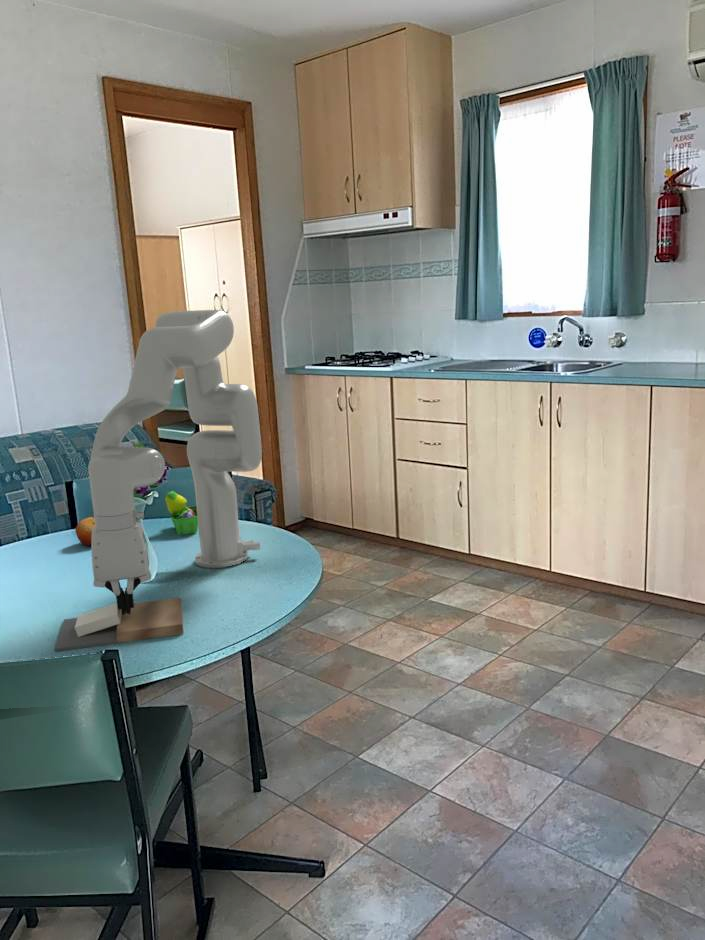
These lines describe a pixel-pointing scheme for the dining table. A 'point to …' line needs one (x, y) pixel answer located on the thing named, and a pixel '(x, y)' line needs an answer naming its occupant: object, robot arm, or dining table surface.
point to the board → (151, 620)
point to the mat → (83, 637)
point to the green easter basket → (182, 514)
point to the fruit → (85, 531)
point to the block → (98, 620)
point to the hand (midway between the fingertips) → (126, 611)
